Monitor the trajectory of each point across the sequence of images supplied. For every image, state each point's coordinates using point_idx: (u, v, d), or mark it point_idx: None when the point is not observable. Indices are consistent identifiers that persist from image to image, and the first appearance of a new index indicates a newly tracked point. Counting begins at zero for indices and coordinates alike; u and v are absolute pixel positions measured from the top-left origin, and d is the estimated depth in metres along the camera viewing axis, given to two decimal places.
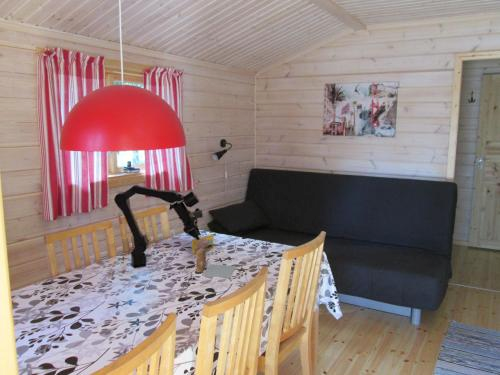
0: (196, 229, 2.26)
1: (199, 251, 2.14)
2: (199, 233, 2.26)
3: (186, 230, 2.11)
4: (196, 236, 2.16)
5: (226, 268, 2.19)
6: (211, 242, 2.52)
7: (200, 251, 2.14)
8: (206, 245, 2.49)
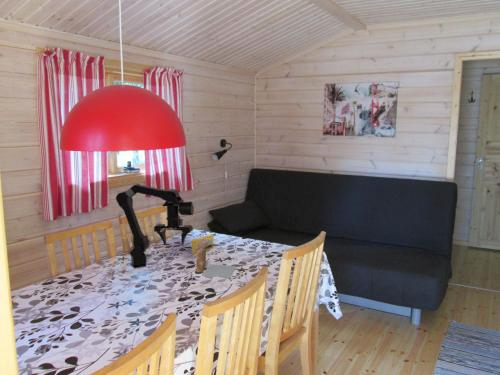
0: (165, 237, 2.18)
1: (199, 251, 2.14)
2: (165, 242, 2.19)
3: (190, 230, 2.13)
4: None
5: (226, 268, 2.19)
6: (211, 242, 2.52)
7: (200, 251, 2.14)
8: (206, 245, 2.49)
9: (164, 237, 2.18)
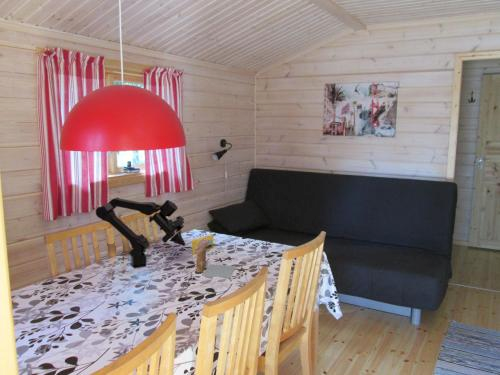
0: None
1: (199, 251, 2.14)
2: None
3: (165, 240, 2.08)
4: (181, 242, 2.15)
5: (226, 268, 2.19)
6: (211, 242, 2.52)
7: (200, 251, 2.14)
8: (206, 245, 2.49)
9: None
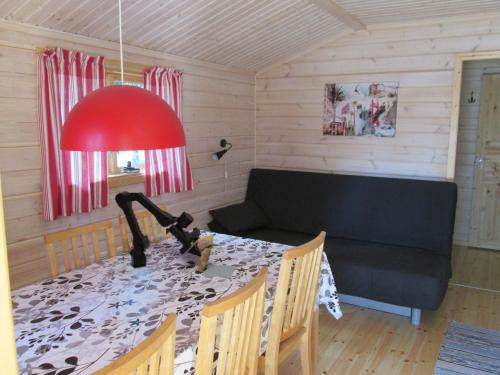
0: None
1: (205, 251, 2.14)
2: None
3: (182, 252, 2.07)
4: (198, 254, 2.15)
5: (226, 268, 2.19)
6: (211, 242, 2.52)
7: (205, 252, 2.13)
8: (206, 245, 2.49)
9: None
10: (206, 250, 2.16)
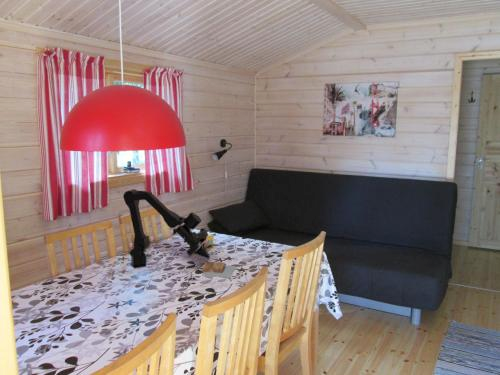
0: None
1: (222, 267, 2.14)
2: None
3: (189, 253, 2.07)
4: (205, 255, 2.15)
5: (226, 268, 2.19)
6: (211, 242, 2.52)
7: (222, 269, 2.13)
8: (206, 245, 2.49)
9: None
10: (223, 266, 2.16)
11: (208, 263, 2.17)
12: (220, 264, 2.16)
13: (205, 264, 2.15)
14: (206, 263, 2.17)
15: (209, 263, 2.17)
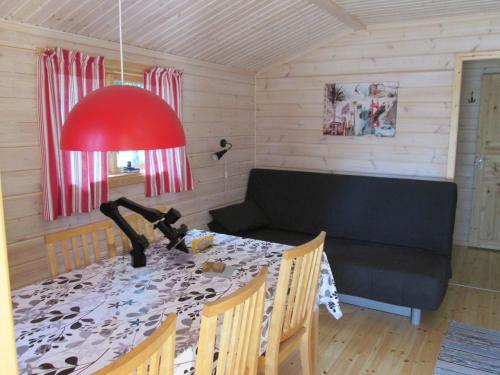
0: None
1: (222, 267, 2.14)
2: (188, 251, 2.17)
3: (169, 248, 2.08)
4: (184, 250, 2.16)
5: (226, 268, 2.19)
6: (211, 242, 2.52)
7: (222, 269, 2.13)
8: (206, 245, 2.49)
9: None
10: (223, 266, 2.16)
11: (208, 263, 2.17)
12: (220, 264, 2.16)
13: (205, 264, 2.15)
14: (206, 263, 2.17)
15: (209, 263, 2.17)
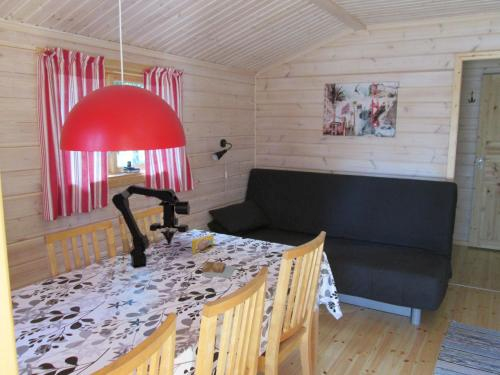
0: None
1: (222, 267, 2.14)
2: None
3: (186, 230, 2.14)
4: (171, 239, 2.18)
5: (226, 268, 2.19)
6: (211, 242, 2.52)
7: (222, 269, 2.13)
8: (206, 245, 2.49)
9: (168, 237, 2.18)
10: (223, 266, 2.16)
11: (208, 263, 2.17)
12: (220, 264, 2.16)
13: (205, 264, 2.15)
14: (206, 263, 2.17)
15: (209, 263, 2.17)
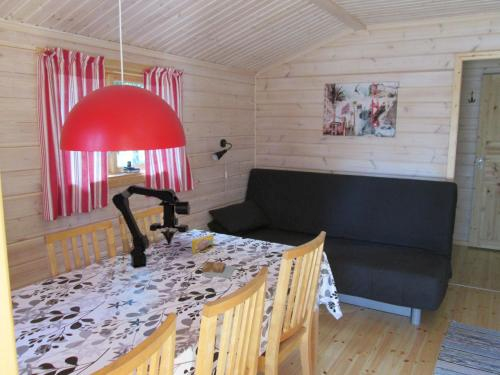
0: None
1: (222, 267, 2.14)
2: None
3: (186, 230, 2.14)
4: (171, 240, 2.18)
5: (226, 268, 2.19)
6: (211, 242, 2.52)
7: (222, 269, 2.13)
8: (206, 245, 2.49)
9: (168, 237, 2.18)
10: (223, 266, 2.16)
11: (208, 263, 2.17)
12: (220, 264, 2.16)
13: (205, 264, 2.15)
14: (206, 263, 2.17)
15: (209, 263, 2.17)
